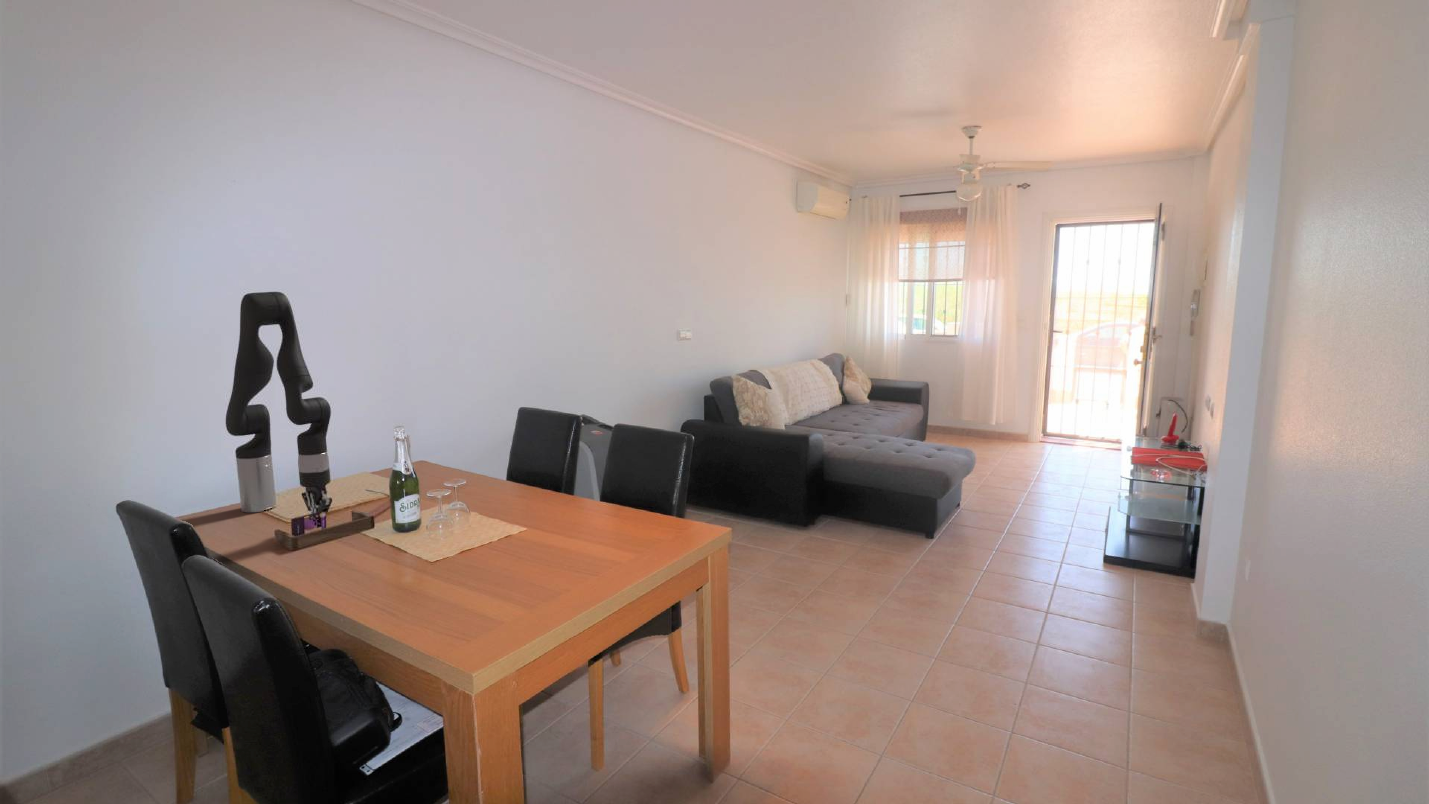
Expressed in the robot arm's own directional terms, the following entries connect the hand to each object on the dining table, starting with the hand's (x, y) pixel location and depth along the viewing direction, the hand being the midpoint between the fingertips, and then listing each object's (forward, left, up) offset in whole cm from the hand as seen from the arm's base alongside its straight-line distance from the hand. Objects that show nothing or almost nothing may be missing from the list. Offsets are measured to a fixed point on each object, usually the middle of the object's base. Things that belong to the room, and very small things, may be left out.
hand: (319, 526), depth 192 cm
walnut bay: (+4, 0, -2) cm, 4 cm away
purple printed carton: (0, -4, -1) cm, 4 cm away
